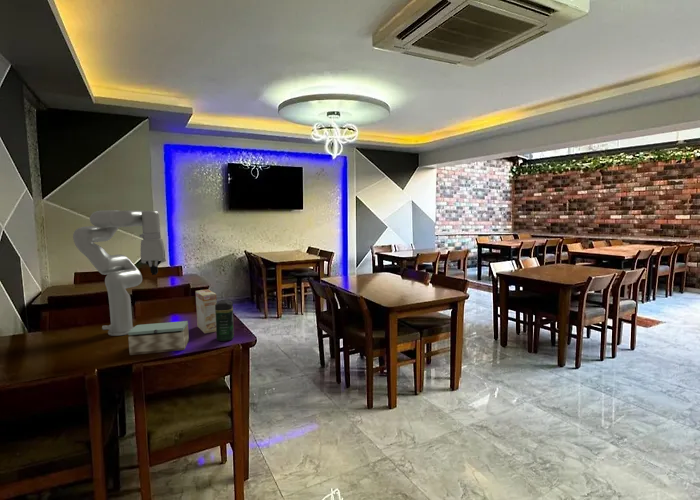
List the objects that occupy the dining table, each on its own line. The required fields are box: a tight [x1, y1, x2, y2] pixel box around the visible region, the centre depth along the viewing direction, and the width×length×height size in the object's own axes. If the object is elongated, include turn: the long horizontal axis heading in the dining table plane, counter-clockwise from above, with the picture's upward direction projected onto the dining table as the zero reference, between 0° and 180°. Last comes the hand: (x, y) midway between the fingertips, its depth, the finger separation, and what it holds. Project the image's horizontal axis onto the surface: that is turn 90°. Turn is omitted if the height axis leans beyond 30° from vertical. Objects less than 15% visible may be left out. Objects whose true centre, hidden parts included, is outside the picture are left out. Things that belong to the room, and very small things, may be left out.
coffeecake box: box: [195, 289, 217, 334], centre depth 206 cm, size 15×7×20 cm, turn 34°
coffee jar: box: [215, 299, 235, 342], centre depth 190 cm, size 10×8×19 cm
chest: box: [128, 323, 190, 356], centre depth 180 cm, size 22×14×8 cm, turn 104°
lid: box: [127, 320, 189, 336], centre depth 179 cm, size 22×15×2 cm
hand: (154, 274), depth 192 cm, fingers closed
